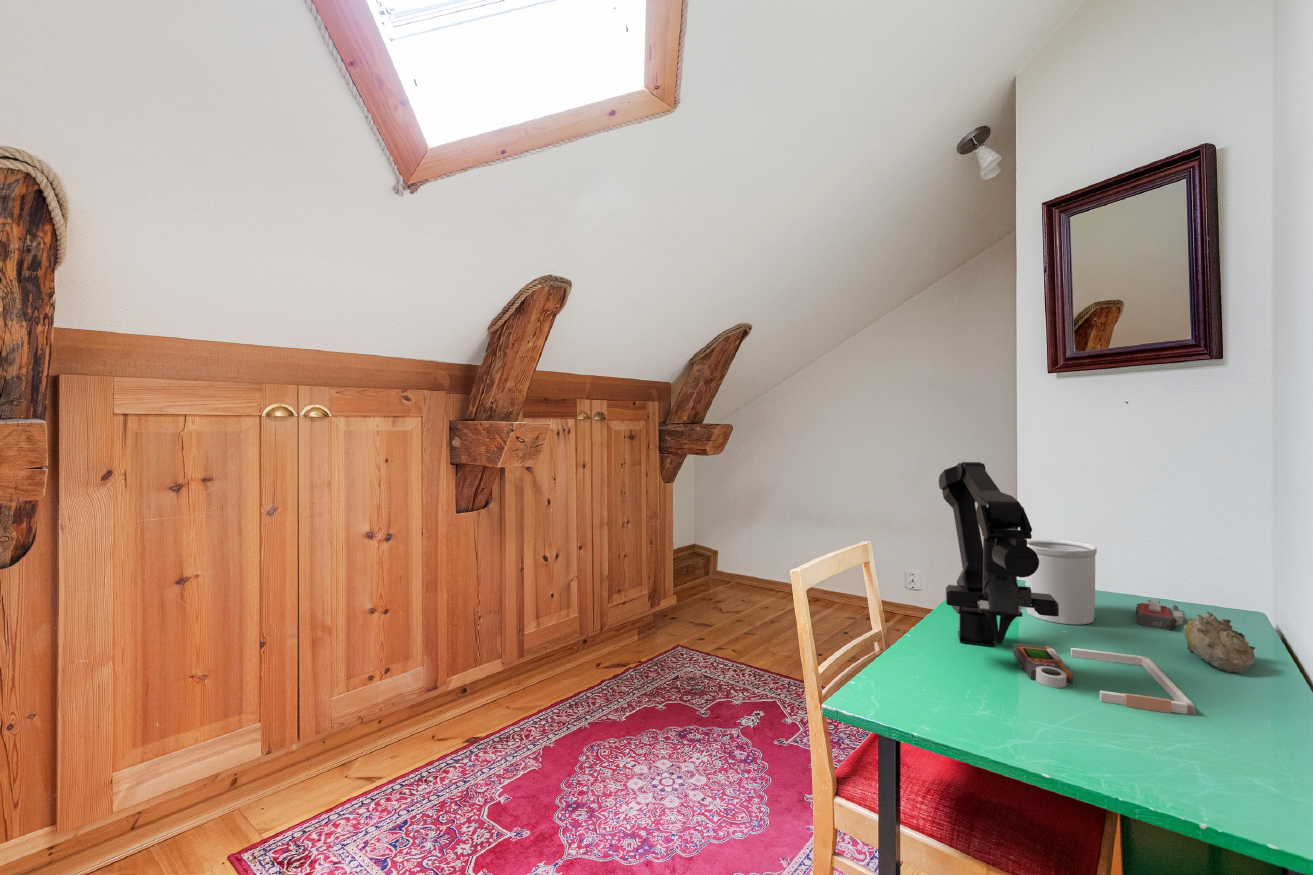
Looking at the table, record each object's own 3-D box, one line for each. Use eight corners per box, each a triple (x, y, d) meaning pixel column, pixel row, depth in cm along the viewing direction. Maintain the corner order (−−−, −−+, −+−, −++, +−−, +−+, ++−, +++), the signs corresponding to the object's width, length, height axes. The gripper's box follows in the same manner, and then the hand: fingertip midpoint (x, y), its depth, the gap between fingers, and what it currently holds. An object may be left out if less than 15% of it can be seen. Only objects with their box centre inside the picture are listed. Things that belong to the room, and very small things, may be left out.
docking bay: (1102, 702, 102) (1102, 691, 102) (1070, 654, 123) (1070, 645, 123) (1196, 716, 97) (1196, 704, 97) (1147, 664, 118) (1147, 654, 118)
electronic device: (1035, 673, 109) (1012, 640, 123) (1034, 689, 109) (1012, 654, 123) (1079, 678, 107) (1051, 644, 121) (1078, 694, 107) (1050, 658, 121)
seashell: (1185, 674, 116) (1188, 624, 115) (1177, 643, 128) (1180, 598, 127) (1266, 690, 110) (1270, 637, 109) (1249, 656, 122) (1253, 608, 120)
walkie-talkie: (1186, 635, 134) (1180, 612, 150) (1187, 616, 134) (1181, 595, 150) (1136, 627, 140) (1135, 606, 156) (1136, 608, 140) (1135, 589, 156)
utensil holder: (1010, 612, 150) (1011, 542, 149) (1042, 603, 158) (1043, 536, 157) (1076, 630, 137) (1077, 553, 137) (1107, 618, 145) (1109, 546, 144)
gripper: (948, 569, 114) (947, 651, 115) (1066, 579, 107) (1064, 666, 107) (945, 556, 124) (945, 631, 125) (1052, 564, 117) (1051, 644, 117)
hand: (998, 643), depth 118 cm, fingers closed
